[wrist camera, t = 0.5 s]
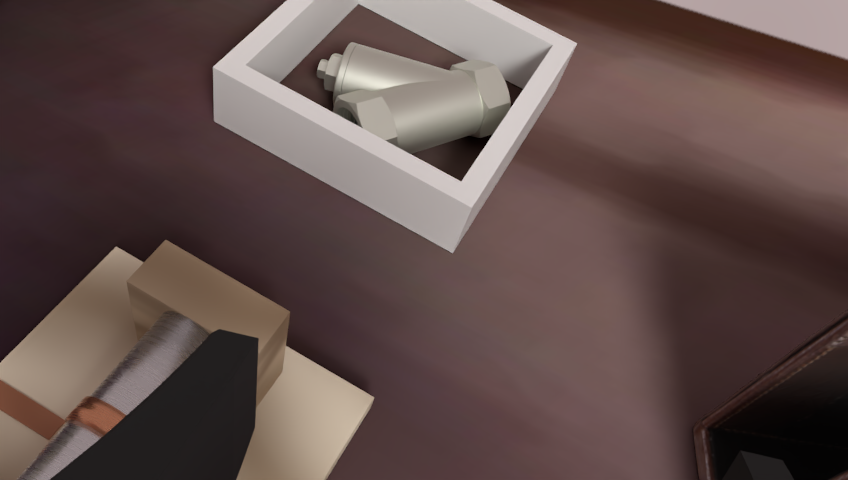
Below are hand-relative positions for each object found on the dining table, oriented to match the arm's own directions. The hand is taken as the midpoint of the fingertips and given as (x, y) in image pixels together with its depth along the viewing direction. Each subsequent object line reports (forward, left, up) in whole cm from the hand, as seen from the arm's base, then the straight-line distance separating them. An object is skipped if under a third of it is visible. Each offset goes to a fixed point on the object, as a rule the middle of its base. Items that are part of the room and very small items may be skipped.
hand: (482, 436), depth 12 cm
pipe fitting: (+22, +10, -19) cm, 30 cm away
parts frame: (+22, +10, -18) cm, 31 cm away
